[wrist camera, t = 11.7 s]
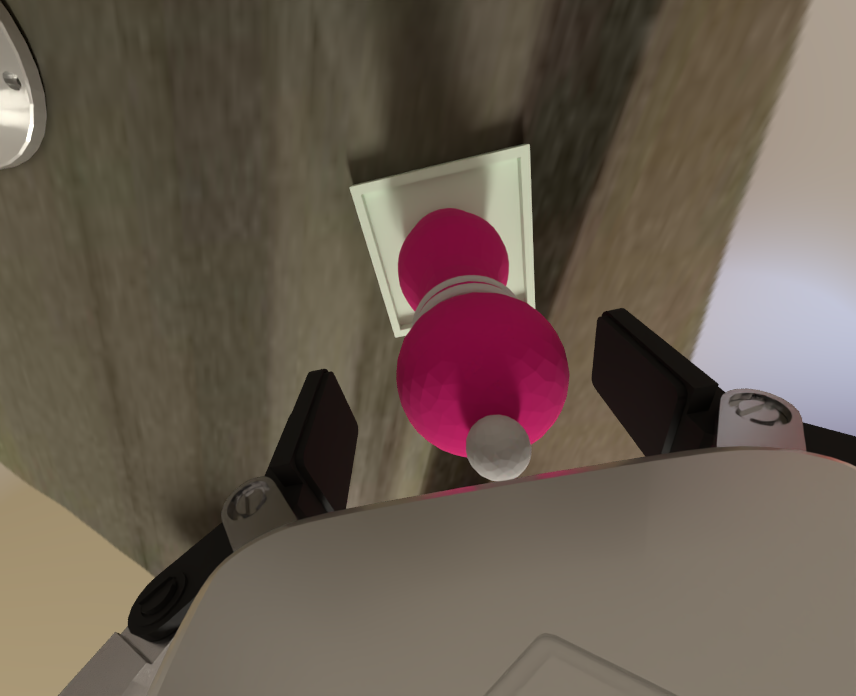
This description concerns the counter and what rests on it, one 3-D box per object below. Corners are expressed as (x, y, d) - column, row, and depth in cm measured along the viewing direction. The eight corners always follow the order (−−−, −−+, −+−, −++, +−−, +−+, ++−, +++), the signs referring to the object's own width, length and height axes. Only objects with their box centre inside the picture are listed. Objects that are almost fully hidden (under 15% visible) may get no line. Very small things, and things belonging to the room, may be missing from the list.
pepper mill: (407, 191, 23) (373, 333, 6) (506, 209, 24) (722, 380, 7) (395, 287, 27) (354, 540, 10) (481, 300, 27) (579, 554, 11)
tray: (353, 184, 23) (349, 187, 22) (523, 143, 22) (529, 144, 21) (396, 329, 29) (395, 337, 28) (530, 303, 28) (535, 310, 27)
